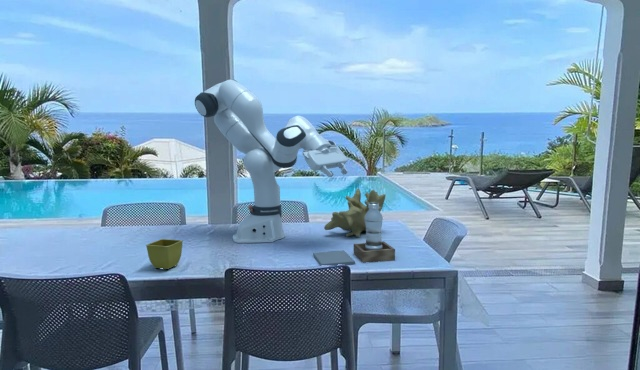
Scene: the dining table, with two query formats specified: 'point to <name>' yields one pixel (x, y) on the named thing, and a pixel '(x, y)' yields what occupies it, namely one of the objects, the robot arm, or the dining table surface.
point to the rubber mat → (333, 258)
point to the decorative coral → (355, 213)
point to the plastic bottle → (373, 227)
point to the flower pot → (164, 253)
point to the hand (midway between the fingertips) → (338, 174)
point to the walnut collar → (374, 253)
